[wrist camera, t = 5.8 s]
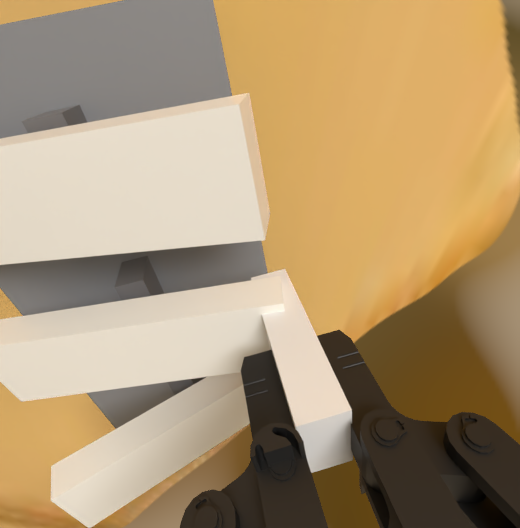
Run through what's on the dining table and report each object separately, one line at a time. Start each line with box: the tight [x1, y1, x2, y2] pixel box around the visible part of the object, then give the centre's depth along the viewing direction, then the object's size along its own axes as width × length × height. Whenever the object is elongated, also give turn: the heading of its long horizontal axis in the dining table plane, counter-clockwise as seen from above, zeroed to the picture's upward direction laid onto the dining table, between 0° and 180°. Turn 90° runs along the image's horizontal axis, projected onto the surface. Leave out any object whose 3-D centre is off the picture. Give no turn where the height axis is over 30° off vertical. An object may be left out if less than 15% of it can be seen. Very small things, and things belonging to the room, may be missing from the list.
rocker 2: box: [0, 276, 285, 402], centre depth 13 cm, size 12×3×2 cm, turn 100°
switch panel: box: [0, 0, 267, 429], centre depth 17 cm, size 12×22×6 cm, turn 10°
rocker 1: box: [0, 93, 270, 265], centre depth 10 cm, size 12×3×2 cm, turn 100°
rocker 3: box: [51, 372, 250, 528], centre depth 17 cm, size 12×3×2 cm, turn 100°
